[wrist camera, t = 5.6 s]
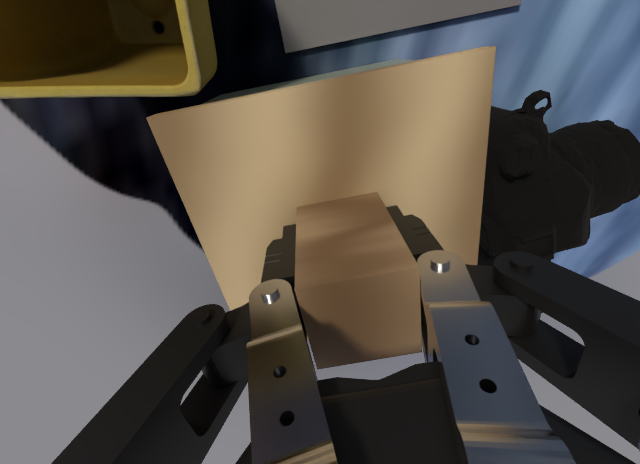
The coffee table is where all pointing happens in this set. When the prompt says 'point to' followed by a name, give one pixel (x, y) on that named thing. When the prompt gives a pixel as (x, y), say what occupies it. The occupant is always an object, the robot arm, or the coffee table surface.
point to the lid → (339, 190)
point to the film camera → (551, 180)
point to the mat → (366, 17)
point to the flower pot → (105, 48)
